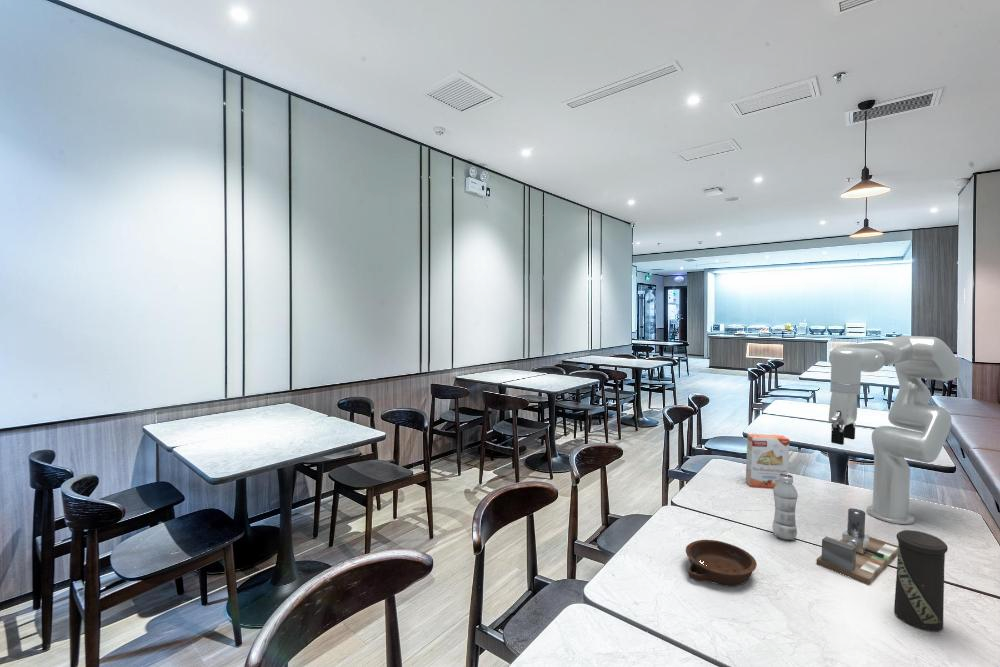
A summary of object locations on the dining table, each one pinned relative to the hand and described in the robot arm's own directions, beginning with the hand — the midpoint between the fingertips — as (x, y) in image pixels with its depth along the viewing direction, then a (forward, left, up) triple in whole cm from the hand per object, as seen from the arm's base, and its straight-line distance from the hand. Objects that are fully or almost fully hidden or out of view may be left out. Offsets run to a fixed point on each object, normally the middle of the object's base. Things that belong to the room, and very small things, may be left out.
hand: (843, 441), depth 144 cm
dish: (+53, -11, -31) cm, 62 cm away
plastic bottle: (+18, -9, -30) cm, 36 cm away
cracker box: (-22, -32, -30) cm, 49 cm away
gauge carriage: (+14, +9, -28) cm, 33 cm away
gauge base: (+13, +9, -30) cm, 34 cm away
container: (+34, +26, -30) cm, 52 cm away
